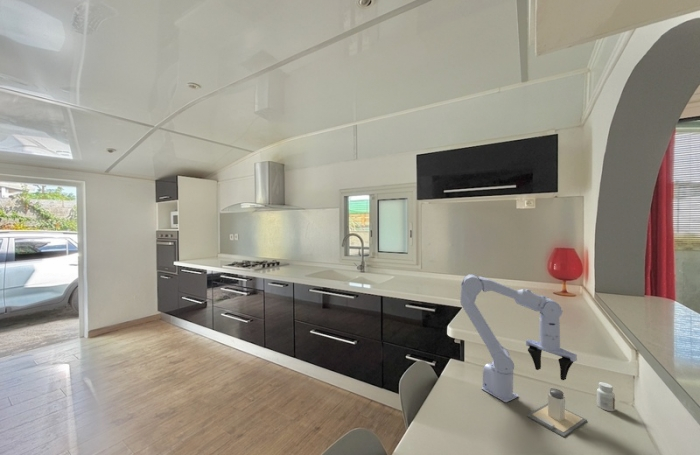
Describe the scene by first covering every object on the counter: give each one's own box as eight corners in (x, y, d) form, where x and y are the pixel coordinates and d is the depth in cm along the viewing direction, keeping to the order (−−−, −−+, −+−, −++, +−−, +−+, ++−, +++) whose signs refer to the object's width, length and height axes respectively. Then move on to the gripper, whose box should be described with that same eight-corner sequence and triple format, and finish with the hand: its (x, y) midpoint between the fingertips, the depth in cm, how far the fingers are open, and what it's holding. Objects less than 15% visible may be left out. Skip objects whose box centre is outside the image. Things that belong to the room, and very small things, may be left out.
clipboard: (526, 416, 85) (526, 412, 85) (550, 402, 93) (550, 399, 93) (563, 437, 77) (563, 433, 77) (586, 420, 84) (586, 417, 84)
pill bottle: (618, 412, 88) (618, 389, 89) (602, 410, 89) (602, 387, 89) (608, 404, 93) (608, 382, 93) (593, 402, 93) (593, 380, 94)
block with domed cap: (547, 415, 85) (547, 390, 86) (552, 412, 87) (553, 387, 87) (560, 421, 82) (560, 395, 83) (565, 418, 84) (565, 392, 84)
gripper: (580, 339, 88) (581, 380, 88) (533, 326, 101) (533, 362, 100) (570, 343, 85) (571, 386, 84) (522, 329, 97) (523, 366, 97)
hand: (550, 374), depth 92 cm, fingers open, 7 cm apart
